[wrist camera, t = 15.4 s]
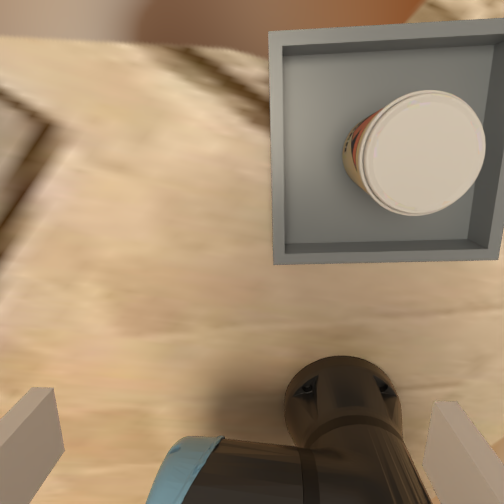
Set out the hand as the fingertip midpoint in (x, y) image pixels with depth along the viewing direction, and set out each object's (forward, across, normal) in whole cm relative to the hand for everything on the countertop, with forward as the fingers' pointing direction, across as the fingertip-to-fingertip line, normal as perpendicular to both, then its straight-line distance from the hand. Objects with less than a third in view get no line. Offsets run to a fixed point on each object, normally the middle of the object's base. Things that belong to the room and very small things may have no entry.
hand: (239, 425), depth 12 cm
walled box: (+31, -13, -9) cm, 35 cm away
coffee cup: (+30, -13, -9) cm, 34 cm away
